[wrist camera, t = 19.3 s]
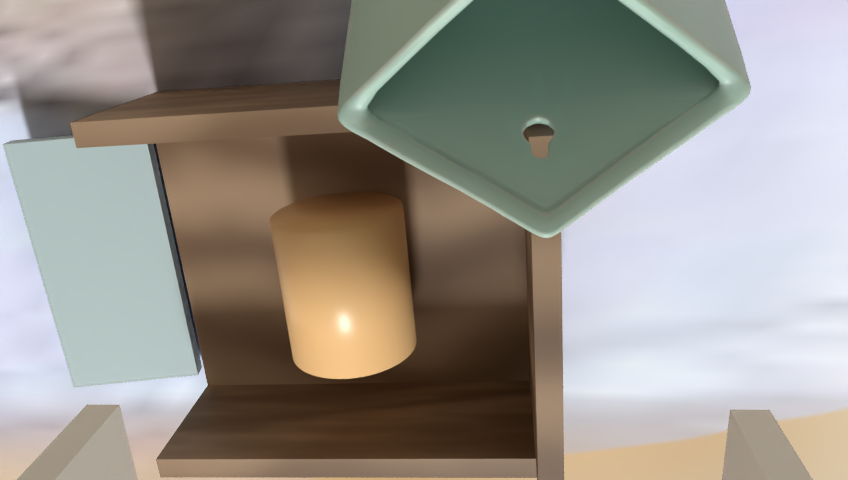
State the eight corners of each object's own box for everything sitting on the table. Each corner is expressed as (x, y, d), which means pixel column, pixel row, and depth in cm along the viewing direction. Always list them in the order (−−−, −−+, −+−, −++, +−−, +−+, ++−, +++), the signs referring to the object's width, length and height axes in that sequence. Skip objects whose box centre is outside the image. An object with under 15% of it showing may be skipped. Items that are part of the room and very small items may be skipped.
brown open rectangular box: (157, 91, 41) (29, 137, 30) (541, 65, 38) (559, 104, 27) (219, 388, 48) (134, 515, 37) (548, 383, 45) (564, 519, 34)
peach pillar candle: (294, 194, 41) (249, 236, 34) (412, 189, 40) (389, 232, 33) (313, 317, 44) (274, 378, 37) (424, 316, 42) (405, 379, 36)
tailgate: (150, 127, 41) (12, 140, 41) (144, 131, 40) (2, 144, 40) (202, 365, 47) (80, 377, 47) (198, 374, 46) (73, 387, 46)
